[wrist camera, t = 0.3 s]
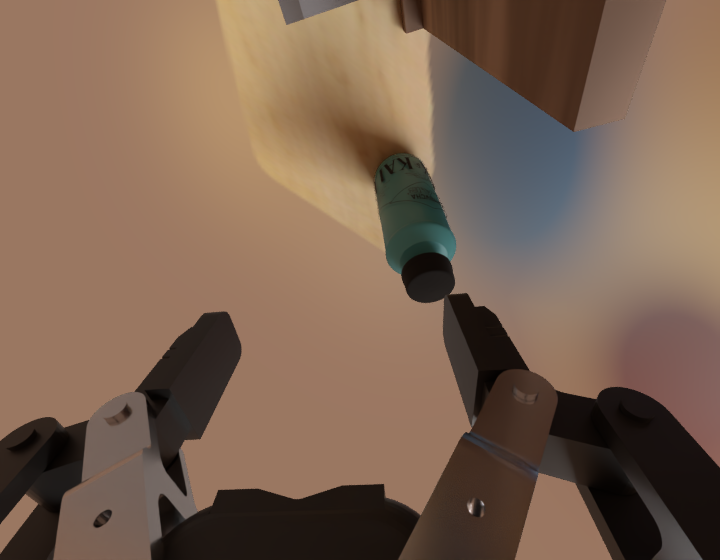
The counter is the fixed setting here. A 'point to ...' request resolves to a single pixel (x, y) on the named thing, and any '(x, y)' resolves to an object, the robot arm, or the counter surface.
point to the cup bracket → (539, 47)
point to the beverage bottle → (415, 228)
